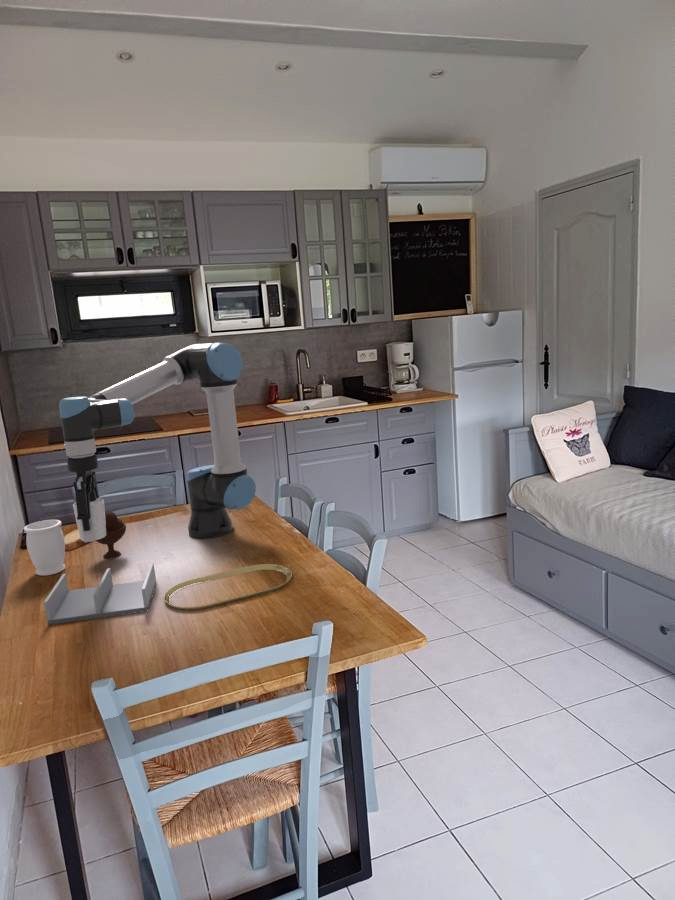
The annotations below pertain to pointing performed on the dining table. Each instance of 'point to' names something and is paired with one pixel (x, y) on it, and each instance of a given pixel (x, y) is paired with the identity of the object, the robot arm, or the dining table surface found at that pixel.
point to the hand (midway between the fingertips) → (93, 536)
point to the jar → (46, 546)
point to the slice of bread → (73, 540)
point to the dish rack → (99, 599)
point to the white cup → (94, 519)
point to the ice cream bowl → (112, 534)
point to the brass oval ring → (228, 574)
